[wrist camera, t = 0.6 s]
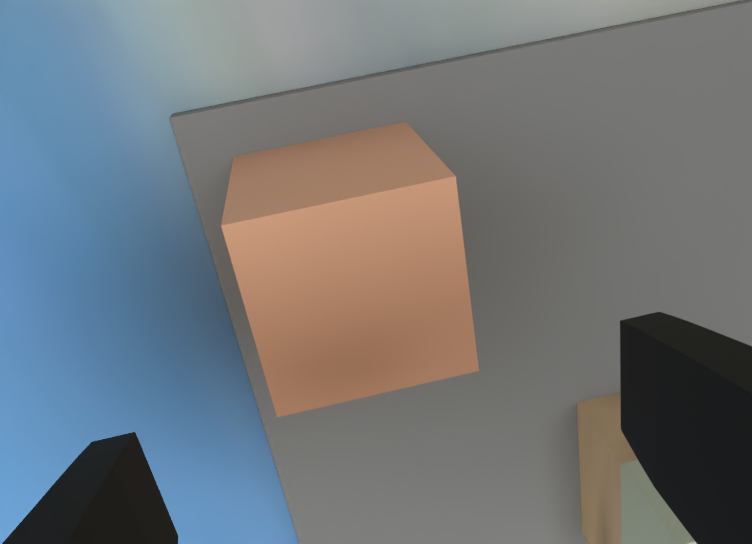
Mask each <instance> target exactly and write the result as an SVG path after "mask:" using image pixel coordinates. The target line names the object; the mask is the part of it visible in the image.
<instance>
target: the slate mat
mask: <svg viewBox="0 0 752 544" xmlns="http://www.w3.org/2000/svg"><path fill="white" fill-rule="evenodd" d="M170 121H171V124H172V128H173V131H174V134H175V137H176V141H177V144H178V147H179V151H180V154H181V157H182V160H183V164H184V167H185V170H186V174H187V177H188V180H189V183H190V187H191V190H192V193H193V196H194V200H195V203H196V206H197V210H198V213H199V216H200V219H201V223H202V226H203V229H204V233H205V236H206V239H207V242H208V246H209V249H210V252H211V255H212V259H213V262H214V265H215V269H216V272H217V275H218V278H219V282H220V285H221V288H222V292H223V295H224V298H225V301H226V305H227V308H228V311H229V314H230V318H231V321H232V324H233V328H234V331H235V334H236V337H237V341H238V344H239V347H240V351H241V354H242V357H243V360H244V364H245V367H246V370H247V373H248V377H249V380H250V383H251V387H252V390H253V393H254V396H255V400H256V403H257V406H258V410H259V413H260V416H261V419H262V423H263V426H264V429H265V432H266V436H267V439H268V442H269V446H270V449H271V452H272V455H273V459H274V462H275V465H276V469H277V472H278V475H279V478H280V482H281V485H282V488H283V491H284V495H285V498H286V501H287V505H288V508H289V511H290V514H291V518H292V521H293V524H294V528H295V531H296V534H297V537H298V541H299V544H588V542H587V540H586V538H585V537H584V535H583V533H582V510H581V487H580V463H579V439H578V416H577V402H581V401H586V400H590V399H594V398H598V397H603V396H607V395H611V394H615V393H620V392H621V390H620V320H625V319H629V318H633V317H638V316H642V315H647V314H651V313H655V312H662V313H665V314H668V315H672V316H675V317H677V318H680V319H683V320H686V321H689V322H691V323H694V324H697V325H699V326H702V327H704V328H707V329H709V330H712V331H715V332H717V333H720V334H722V335H725V336H727V337H730V338H732V339H735V340H737V341H740V342H742V343H745V344H747V345H750V346H752V0H742V1H737V2H732V3H727V4H722V5H717V6H712V7H707V8H702V9H697V10H692V11H687V12H682V13H677V14H672V15H667V16H662V17H657V18H652V19H647V20H642V21H637V22H632V23H627V24H622V25H617V26H612V27H607V28H602V29H597V30H592V31H587V32H582V33H577V34H572V35H567V36H561V37H556V38H551V39H546V40H541V41H536V42H531V43H526V44H521V45H516V46H511V47H506V48H501V49H496V50H491V51H486V52H481V53H476V54H471V55H466V56H461V57H456V58H451V59H446V60H441V61H436V62H431V63H426V64H421V65H416V66H411V67H406V68H401V69H396V70H391V71H386V72H381V73H376V74H371V75H366V76H361V77H356V78H351V79H346V80H341V81H336V82H331V83H326V84H321V85H315V86H310V87H305V88H300V89H295V90H290V91H285V92H280V93H275V94H270V95H265V96H260V97H255V98H250V99H245V100H240V101H235V102H230V103H225V104H220V105H215V106H210V107H205V108H200V109H195V110H190V111H185V112H180V113H175V114H172V115H171V117H170ZM402 122H407V123H408V124H409V126H410V127H411V128H412V129H413V130H414V131H415V132H416V133H417V134H418V135H419V137H420V138H421V139H422V140H423V141H424V142H425V143H426V144H427V145H428V146H429V147H430V149H431V150H432V151H433V152H434V153H435V154H436V155H437V156H438V157H439V158H440V160H441V161H442V162H443V163H444V164H445V165H446V166H447V167H448V168H449V169H450V170H451V172H452V173H453V174H454V175H455V176H456V183H457V191H458V199H459V208H460V216H461V225H462V233H463V241H464V250H465V258H466V266H467V275H468V283H469V291H470V300H471V308H472V317H473V325H474V333H475V342H476V350H477V358H478V367H479V371H476V372H472V373H468V374H463V375H459V376H455V377H450V378H446V379H442V380H437V381H433V382H429V383H424V384H420V385H416V386H411V387H407V388H403V389H398V390H394V391H390V392H385V393H381V394H377V395H372V396H368V397H364V398H359V399H355V400H351V401H346V402H342V403H338V404H333V405H329V406H325V407H320V408H316V409H312V410H307V411H303V412H299V413H294V414H290V415H286V416H281V417H277V416H276V412H275V409H274V405H273V402H272V399H271V395H270V392H269V388H268V385H267V381H266V378H265V375H264V371H263V368H262V364H261V361H260V357H259V354H258V351H257V347H256V344H255V340H254V337H253V333H252V330H251V327H250V323H249V320H248V316H247V313H246V310H245V306H244V303H243V299H242V296H241V292H240V289H239V286H238V282H237V279H236V275H235V272H234V268H233V265H232V262H231V258H230V255H229V251H228V248H227V244H226V241H225V238H224V234H223V231H222V227H221V223H222V218H223V212H224V207H225V201H226V195H227V190H228V184H229V179H230V173H231V168H232V162H233V157H236V156H240V155H245V154H250V153H255V152H260V151H265V150H270V149H275V148H280V147H284V146H289V145H294V144H299V143H304V142H309V141H314V140H319V139H324V138H328V137H333V136H338V135H343V134H348V133H353V132H358V131H363V130H368V129H372V128H377V127H382V126H387V125H392V124H397V123H402Z"/></svg>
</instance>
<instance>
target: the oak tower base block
mask: <svg viewBox="0 0 752 544" xmlns="http://www.w3.org/2000/svg"><path fill="white" fill-rule="evenodd" d="M577 416H578V439H579V463H580V487H581V510H582V533H583V535H584V537H585V538H586V540H587V542H588V544H621V464H623V463H627V462H631V461H635V460H638V459H637V457H636V456H635V454H634V452H633V450H632V448H631V447H630V445H629V443H628V441H627V440H626V438H625V436H624V434H623V432H622V431H621V392H620V393H615V394H611V395H607V396H603V397H598V398H594V399H590V400H586V401H581V402H577Z"/></svg>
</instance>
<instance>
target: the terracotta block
mask: <svg viewBox="0 0 752 544" xmlns="http://www.w3.org/2000/svg"><path fill="white" fill-rule="evenodd" d="M221 227H222V231H223V234H224V238H225V241H226V244H227V248H228V251H229V255H230V258H231V262H232V265H233V268H234V272H235V275H236V279H237V282H238V286H239V289H240V292H241V296H242V299H243V303H244V306H245V310H246V313H247V316H248V320H249V323H250V327H251V330H252V333H253V337H254V340H255V344H256V347H257V351H258V354H259V357H260V361H261V364H262V368H263V371H264V375H265V378H266V381H267V385H268V388H269V392H270V395H271V399H272V402H273V405H274V409H275V412H276V416H277V417H281V416H286V415H290V414H294V413H299V412H303V411H307V410H312V409H316V408H320V407H325V406H329V405H333V404H338V403H342V402H346V401H351V400H355V399H359V398H364V397H368V396H372V395H377V394H381V393H385V392H390V391H394V390H398V389H403V388H407V387H411V386H416V385H420V384H424V383H429V382H433V381H437V380H442V379H446V378H450V377H455V376H459V375H463V374H468V373H472V372H476V371H479V367H478V358H477V350H476V342H475V333H474V325H473V317H472V308H471V300H470V291H469V283H468V275H467V266H466V258H465V250H464V241H463V233H462V225H461V216H460V208H459V199H458V191H457V183H456V176H455V175H454V174H453V173H452V172H451V170H450V169H449V168H448V167H447V166H446V165H445V164H444V163H443V162H442V161H441V160H440V158H439V157H438V156H437V155H436V154H435V153H434V152H433V151H432V150H431V149H430V147H429V146H428V145H427V144H426V143H425V142H424V141H423V140H422V139H421V138H420V137H419V135H418V134H417V133H416V132H415V131H414V130H413V129H412V128H411V127H410V126H409V124H408V123H407V122H402V123H397V124H392V125H387V126H382V127H377V128H372V129H368V130H363V131H358V132H353V133H348V134H343V135H338V136H333V137H328V138H324V139H319V140H314V141H309V142H304V143H299V144H294V145H289V146H284V147H280V148H275V149H270V150H265V151H260V152H255V153H250V154H245V155H240V156H236V157H233V162H232V168H231V173H230V179H229V184H228V190H227V195H226V201H225V207H224V212H223V218H222V223H221Z"/></svg>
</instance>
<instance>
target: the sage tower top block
mask: <svg viewBox="0 0 752 544" xmlns="http://www.w3.org/2000/svg"><path fill="white" fill-rule="evenodd" d="M621 544H697V543H696V542H695V540H694V539H693V538H692V537H691V535H690V534H689V533H688V531H687V530H686V529H685V527H684V526H683V525H682V523H681V522H680V521H679V520H678V518H677V517H676V516H675V514H674V513H673V512H672V510H671V509H670V508H669V506H668V505H667V504H666V502H665V501H664V500H663V498H662V497H661V496H660V494H659V493H658V492H657V490H656V489H655V488H654V486H653V484H652V483H651V481H650V479H649V478H648V476H647V474H646V473H645V471H644V469H643V468H642V466H641V464H640V463H639V461H638V460H635V461H631V462H627V463H623V464H621Z"/></svg>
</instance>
